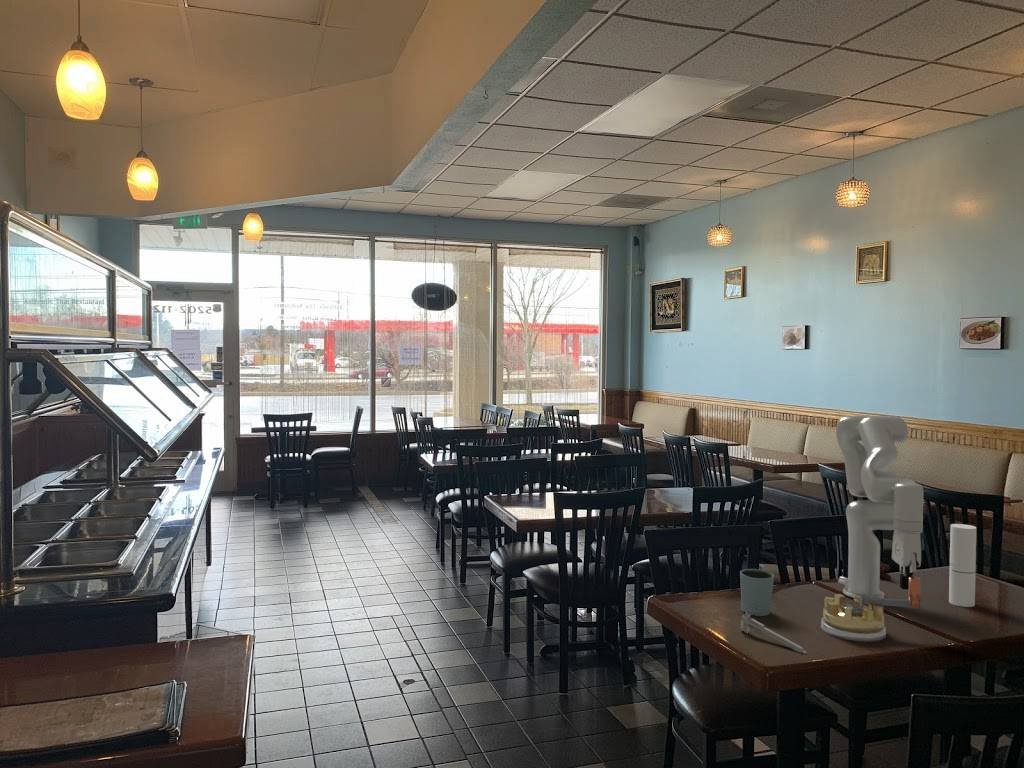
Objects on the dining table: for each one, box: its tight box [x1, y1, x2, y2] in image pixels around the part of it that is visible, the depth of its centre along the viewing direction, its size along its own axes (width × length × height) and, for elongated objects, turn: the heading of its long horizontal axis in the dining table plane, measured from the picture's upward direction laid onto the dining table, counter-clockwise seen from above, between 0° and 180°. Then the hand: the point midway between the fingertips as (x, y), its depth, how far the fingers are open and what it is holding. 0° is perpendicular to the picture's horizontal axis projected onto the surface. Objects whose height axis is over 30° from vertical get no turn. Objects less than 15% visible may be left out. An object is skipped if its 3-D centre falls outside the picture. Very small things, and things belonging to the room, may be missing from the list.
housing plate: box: [820, 617, 887, 643], centre depth 216 cm, size 17×17×2 cm
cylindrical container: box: [948, 523, 977, 608], centre depth 241 cm, size 7×7×25 cm
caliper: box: [740, 612, 808, 655], centre depth 207 cm, size 20×1×6 cm, turn 37°
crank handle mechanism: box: [822, 575, 921, 633], centre depth 215 cm, size 21×21×14 cm
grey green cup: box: [739, 568, 775, 617], centre depth 232 cm, size 10×10×12 cm
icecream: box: [880, 560, 892, 581], centre depth 273 cm, size 7×7×15 cm
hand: (906, 588), depth 217 cm, fingers closed
